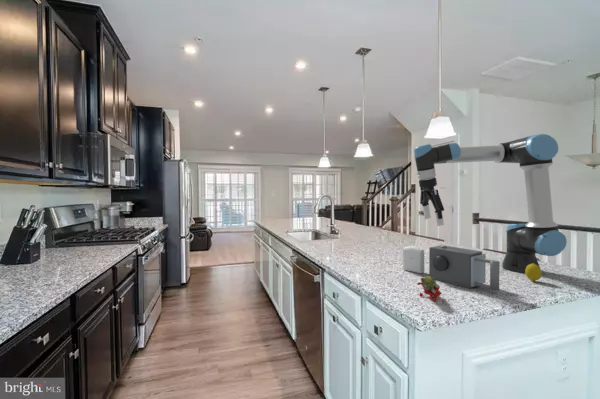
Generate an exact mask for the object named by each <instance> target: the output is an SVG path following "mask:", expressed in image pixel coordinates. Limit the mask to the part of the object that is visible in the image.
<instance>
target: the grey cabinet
mask: <svg viewBox="0 0 600 399" xmlns="http://www.w3.org/2000/svg"><path fill="white" fill-rule="evenodd" d="M480 254H483V251H482V250H476V249H475V250H474V249H469V248H464V247H457V246H456V247H455V246H451V245H444V244H440V245H436V246H431V247H429V255H428V257H429V262H428V263H429V267H428V268H429V269H428V272H429V275H428V276H431V277H433V278H434V279H435V281H436V280H437V281H440V282H444V283H448V284H452V285H455V286H459V287H463V288H467V289H472V288H476V286H474V287H472V286H471V257H472V256H476V255H480Z"/></svg>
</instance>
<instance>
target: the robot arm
mask: <svg viewBox="0 0 600 399" xmlns="http://www.w3.org/2000/svg"><path fill="white" fill-rule="evenodd" d="M413 152H414V153H413V154H414V160H415V166H416V172H417V173H416V175H417V178H418V179H419V180H418V185H419V188H420V189H419V190H420V200H419V201H420V202H419V203H420V205H422V209H423V217H424V220H429V219H431V218H432V216H431V210H430V204H429V201H431V204H432V206H433V207H434V213H435V221H436V226H437V227H439V226H444V225H445V223H444V217H443V211H445V208H444V204H443V202H442V199H441V197H440V195H439V194H440V193H439V190H438V189H435V188H434V187H436V186H437V185H438V183H437V182H438V181H437V177H436V176H437V174H436V168H435V164H436V165H437V164H455V163H456V164H457V163H477V162H478V163H480V162H494V163H497V164H499V163H501V164H502V163H503V164H504V163H506V164H507V163H508V164H510V163H511V164H519V168H521V169H522V170H523V171H524V181H525V182H524V183H525V191H526V192H525V193H526V202H527V215H528V222H527V223H508V225H507V226H506V252H505V256H504V258H503V261H502V266H501V267H502V268H503V269H504V270H507V271H511V272H515V273H516V272H517V273H522V274H523V273H524V274H526V273H525V270H526V267H527V266H528V265H529V264H532V263H534V264H536V265H538V266H539V267H540V268H541V266H540V263H539V262H538V259H537V256H536V255H537V254H538V255H539V256H540V255H541V256H548V257H555V256H558V255H560V254H561V253H562V251H564V250H565V249H566V247H567V240H568V239H567V236H566V235H565V234H563V233H562V232H561V231H560V230H559V224H558V223H556V222H555V221H554V214H553V205H552V204H553V203H552V194H551V182H550V169H549V168H550V166H552V165H553V163H554V162H553V159H554V158H555V157H556V156H557V154H558V152H559V144H558V141H557V140H556V139H555V138H554V137H552V136H551V135H549V134H546V133H545V134H544V133H538V134H533V135H532V134H531V135H529V136H525V137H521V138H518V139H515V140H511V141H507V142H500V143H499V142H497V143H496V144H494V145H483V146H481V145H480V146H464V147H463V146H461V147H460V145H459V144H458V143H457V142H450V143H447V144H443V145H438V146H432V144H431V143H427V144H421V145H418V146H417V145H416V146H415V147H414V149H413Z"/></svg>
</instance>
